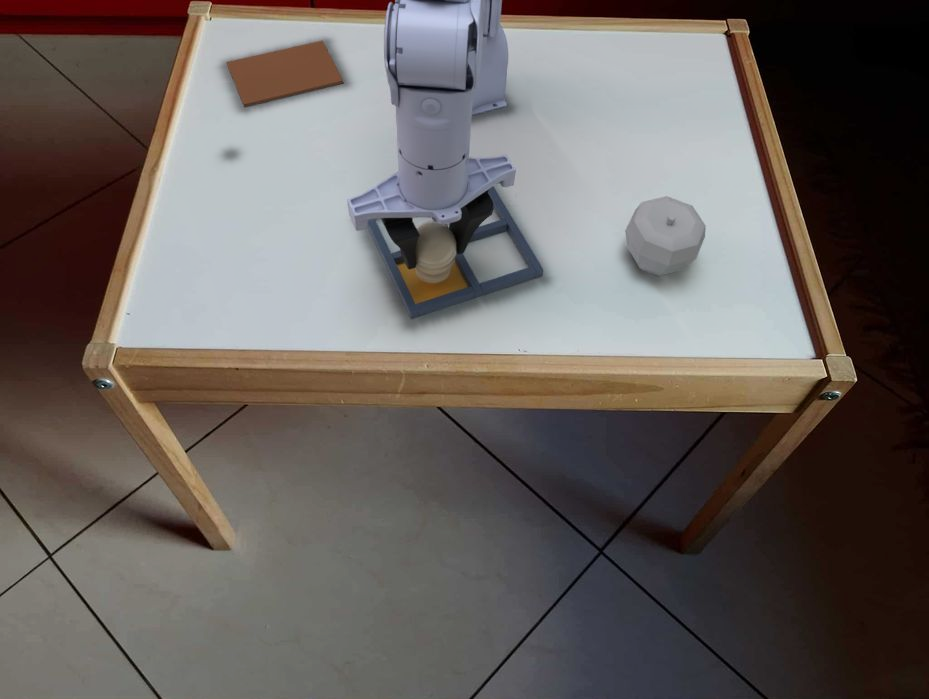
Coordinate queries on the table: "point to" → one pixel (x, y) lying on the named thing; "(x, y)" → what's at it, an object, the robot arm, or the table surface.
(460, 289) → the holder
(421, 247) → the beige domed knob
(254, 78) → the mat
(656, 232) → the apple
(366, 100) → the table surface
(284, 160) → the table surface
